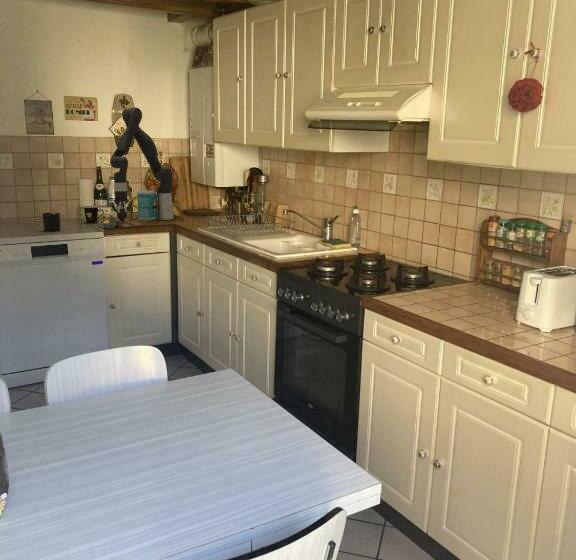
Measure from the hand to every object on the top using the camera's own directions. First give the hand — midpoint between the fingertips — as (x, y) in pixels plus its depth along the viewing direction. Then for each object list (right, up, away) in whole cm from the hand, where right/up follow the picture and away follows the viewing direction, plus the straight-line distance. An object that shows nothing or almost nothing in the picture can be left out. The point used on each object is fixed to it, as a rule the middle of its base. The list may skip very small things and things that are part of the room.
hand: (122, 218), depth 379 cm
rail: (+4, -4, +4) cm, 7 cm away
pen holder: (-36, -9, -18) cm, 41 cm away
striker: (-1, -4, 0) cm, 5 cm away
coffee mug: (-20, -2, +10) cm, 23 cm away
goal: (-9, -6, -5) cm, 11 cm away
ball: (-8, -4, -5) cm, 10 cm away
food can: (+9, +2, +28) cm, 29 cm away
